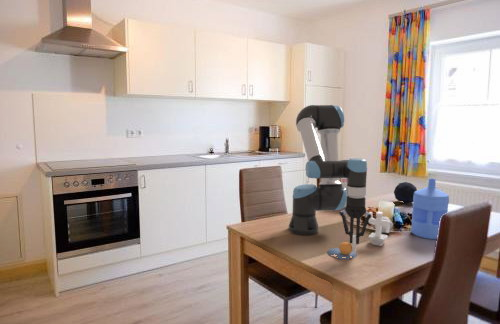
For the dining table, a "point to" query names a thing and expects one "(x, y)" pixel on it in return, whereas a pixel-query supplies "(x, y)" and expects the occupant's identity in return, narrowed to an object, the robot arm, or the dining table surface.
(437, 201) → the water jug
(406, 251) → the dining table surface
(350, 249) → the ball
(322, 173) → the robot arm
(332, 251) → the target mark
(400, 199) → the decorative orb
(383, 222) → the figurine
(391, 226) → the die
